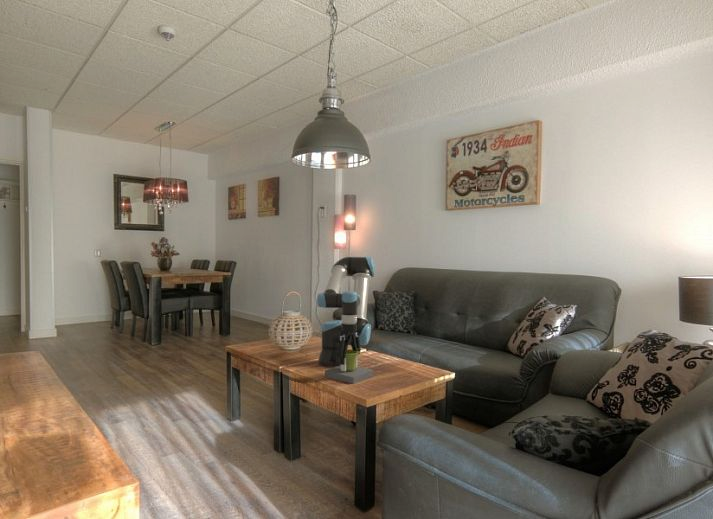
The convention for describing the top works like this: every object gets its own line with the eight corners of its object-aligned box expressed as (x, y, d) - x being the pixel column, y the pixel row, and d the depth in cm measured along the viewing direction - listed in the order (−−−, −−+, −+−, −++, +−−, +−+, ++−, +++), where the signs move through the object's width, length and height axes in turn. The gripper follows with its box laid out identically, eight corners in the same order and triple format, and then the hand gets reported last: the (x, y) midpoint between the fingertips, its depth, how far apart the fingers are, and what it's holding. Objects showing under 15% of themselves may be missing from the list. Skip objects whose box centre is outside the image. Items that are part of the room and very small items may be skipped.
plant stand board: (324, 376, 209) (324, 370, 209) (345, 369, 221) (345, 364, 221) (353, 383, 198) (353, 377, 198) (373, 376, 211) (373, 370, 210)
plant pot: (343, 372, 204) (343, 354, 203) (336, 367, 212) (336, 350, 212) (361, 370, 207) (361, 353, 207) (353, 366, 216) (354, 349, 216)
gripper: (341, 326, 199) (341, 375, 199) (368, 321, 215) (367, 365, 216) (329, 325, 203) (329, 372, 204) (356, 319, 220) (356, 363, 220)
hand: (349, 368), depth 210 cm, fingers closed on plant pot, 8 cm apart
